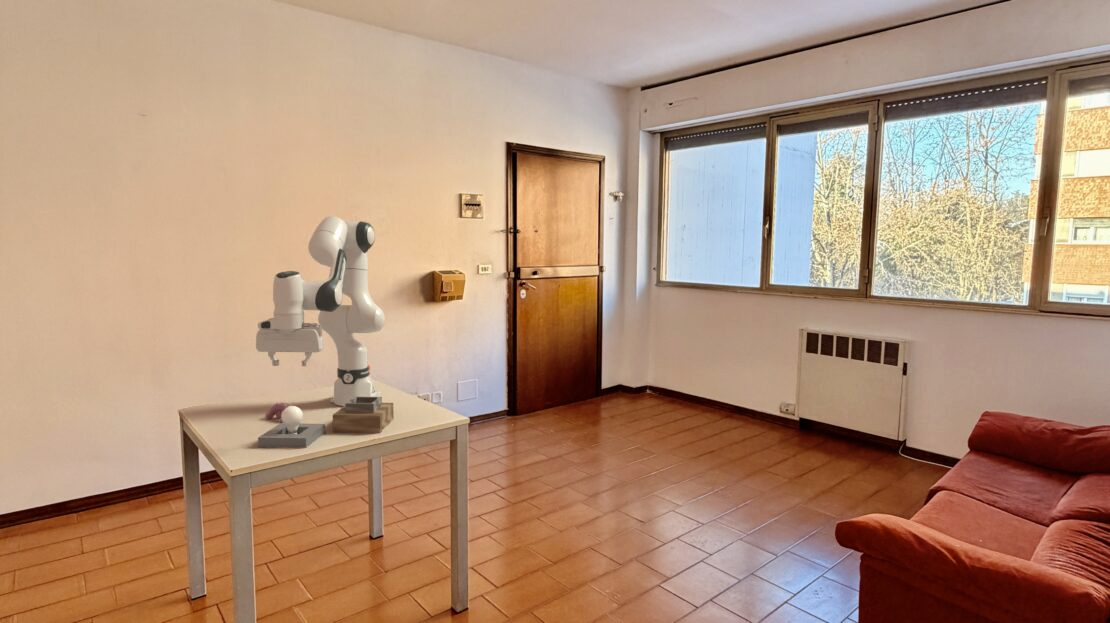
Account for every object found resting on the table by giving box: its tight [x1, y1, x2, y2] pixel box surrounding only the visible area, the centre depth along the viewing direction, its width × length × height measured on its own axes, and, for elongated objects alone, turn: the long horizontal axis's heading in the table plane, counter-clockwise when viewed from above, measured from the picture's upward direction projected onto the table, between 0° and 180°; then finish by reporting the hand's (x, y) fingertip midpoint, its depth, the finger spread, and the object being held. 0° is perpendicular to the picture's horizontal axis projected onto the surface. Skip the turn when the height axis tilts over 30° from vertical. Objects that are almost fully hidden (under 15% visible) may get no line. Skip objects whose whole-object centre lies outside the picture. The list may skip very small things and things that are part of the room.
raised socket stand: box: [332, 396, 395, 434], centre depth 209 cm, size 16×16×9 cm
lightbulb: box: [280, 405, 304, 434], centre depth 193 cm, size 6×6×11 cm
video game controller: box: [265, 402, 292, 423], centre depth 216 cm, size 10×5×7 cm, turn 60°
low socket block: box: [257, 422, 326, 448], centre depth 194 cm, size 15×15×3 cm
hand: (290, 365), depth 191 cm, fingers open, 8 cm apart
